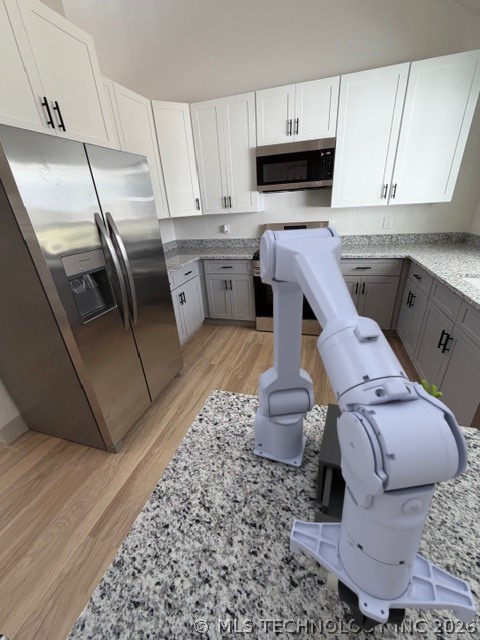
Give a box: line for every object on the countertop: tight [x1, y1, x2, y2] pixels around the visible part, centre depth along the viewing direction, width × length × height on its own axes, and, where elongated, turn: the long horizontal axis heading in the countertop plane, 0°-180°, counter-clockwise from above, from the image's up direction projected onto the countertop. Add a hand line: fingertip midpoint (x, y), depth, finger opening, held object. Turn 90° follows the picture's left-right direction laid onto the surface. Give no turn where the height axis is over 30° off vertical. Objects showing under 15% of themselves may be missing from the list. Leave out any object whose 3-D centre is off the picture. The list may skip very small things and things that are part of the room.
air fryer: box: [315, 402, 342, 506], centre depth 48 cm, size 15×13×10 cm
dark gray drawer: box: [311, 466, 419, 593], centre depth 38 cm, size 18×11×8 cm, turn 158°
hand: (361, 615), depth 28 cm, fingers closed
